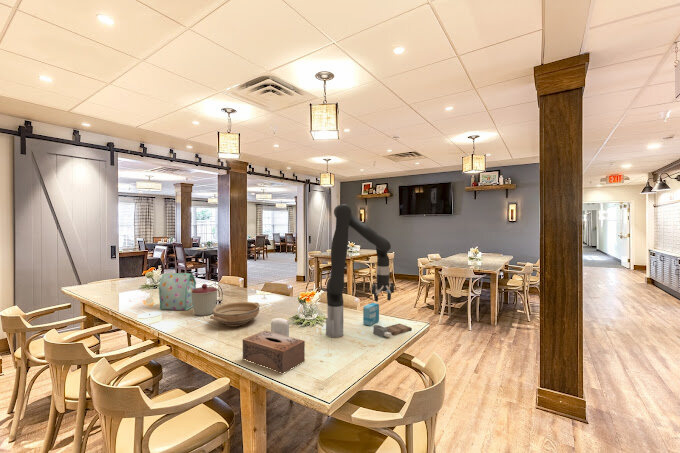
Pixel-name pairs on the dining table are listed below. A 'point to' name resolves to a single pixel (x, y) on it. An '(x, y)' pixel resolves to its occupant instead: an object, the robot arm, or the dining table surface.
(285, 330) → the photo printer
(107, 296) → the dining table surface
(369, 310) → the data package
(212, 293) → the canister
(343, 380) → the dining table surface
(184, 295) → the lunch bag
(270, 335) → the tissue box cover
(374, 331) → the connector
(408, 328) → the walnut board
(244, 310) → the ceramic bowl
